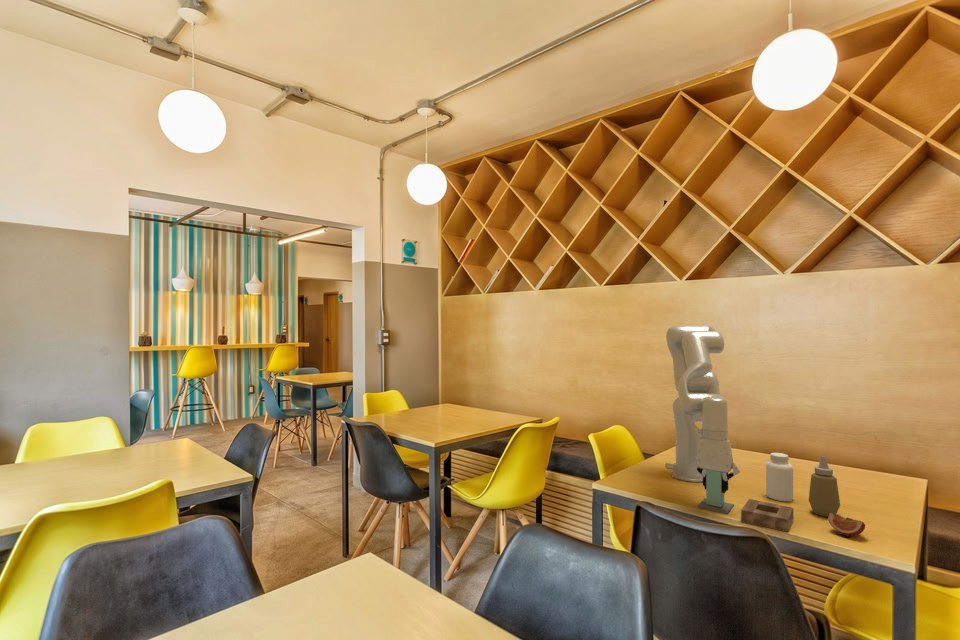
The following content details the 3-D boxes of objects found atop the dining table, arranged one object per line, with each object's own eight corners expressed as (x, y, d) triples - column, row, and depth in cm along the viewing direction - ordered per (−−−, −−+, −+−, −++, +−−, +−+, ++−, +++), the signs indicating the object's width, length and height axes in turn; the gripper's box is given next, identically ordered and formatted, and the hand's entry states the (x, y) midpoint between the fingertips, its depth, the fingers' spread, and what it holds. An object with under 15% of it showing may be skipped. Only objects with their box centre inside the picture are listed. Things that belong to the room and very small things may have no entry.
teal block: (706, 504, 155) (706, 467, 155) (709, 500, 159) (709, 464, 159) (721, 507, 152) (720, 470, 153) (724, 503, 156) (724, 466, 156)
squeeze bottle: (841, 521, 144) (840, 461, 144) (809, 515, 148) (808, 457, 148) (838, 512, 150) (837, 455, 151) (808, 507, 155) (807, 452, 155)
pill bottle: (784, 503, 158) (784, 458, 158) (761, 496, 165) (760, 453, 166) (798, 499, 162) (797, 455, 162) (774, 492, 169) (774, 450, 169)
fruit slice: (824, 531, 137) (823, 513, 137) (836, 526, 140) (835, 509, 140) (858, 542, 129) (857, 524, 129) (870, 537, 132) (869, 519, 133)
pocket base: (741, 521, 144) (741, 509, 144) (749, 509, 153) (749, 498, 153) (788, 532, 136) (788, 519, 136) (793, 519, 145) (793, 507, 145)
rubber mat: (697, 507, 155) (697, 505, 155) (704, 499, 162) (704, 498, 162) (727, 514, 149) (727, 512, 149) (734, 506, 156) (734, 504, 156)
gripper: (684, 433, 158) (685, 487, 158) (741, 440, 148) (741, 499, 147) (691, 429, 164) (691, 482, 164) (746, 436, 153) (746, 493, 153)
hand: (715, 489), depth 156 cm, fingers open, 4 cm apart
